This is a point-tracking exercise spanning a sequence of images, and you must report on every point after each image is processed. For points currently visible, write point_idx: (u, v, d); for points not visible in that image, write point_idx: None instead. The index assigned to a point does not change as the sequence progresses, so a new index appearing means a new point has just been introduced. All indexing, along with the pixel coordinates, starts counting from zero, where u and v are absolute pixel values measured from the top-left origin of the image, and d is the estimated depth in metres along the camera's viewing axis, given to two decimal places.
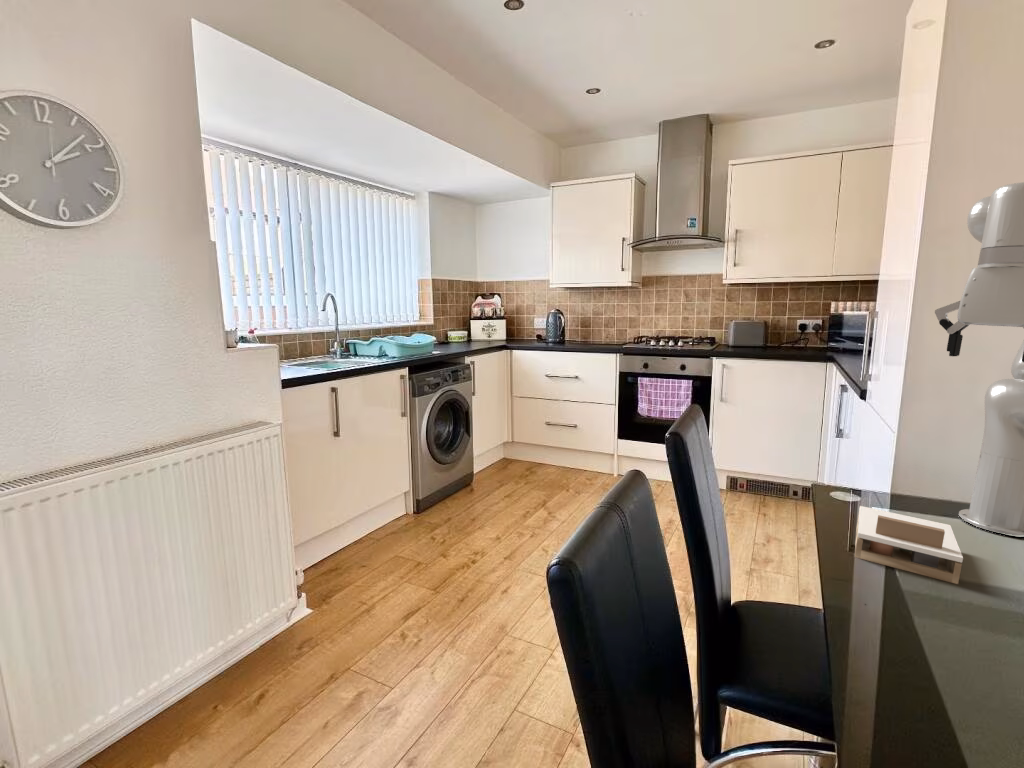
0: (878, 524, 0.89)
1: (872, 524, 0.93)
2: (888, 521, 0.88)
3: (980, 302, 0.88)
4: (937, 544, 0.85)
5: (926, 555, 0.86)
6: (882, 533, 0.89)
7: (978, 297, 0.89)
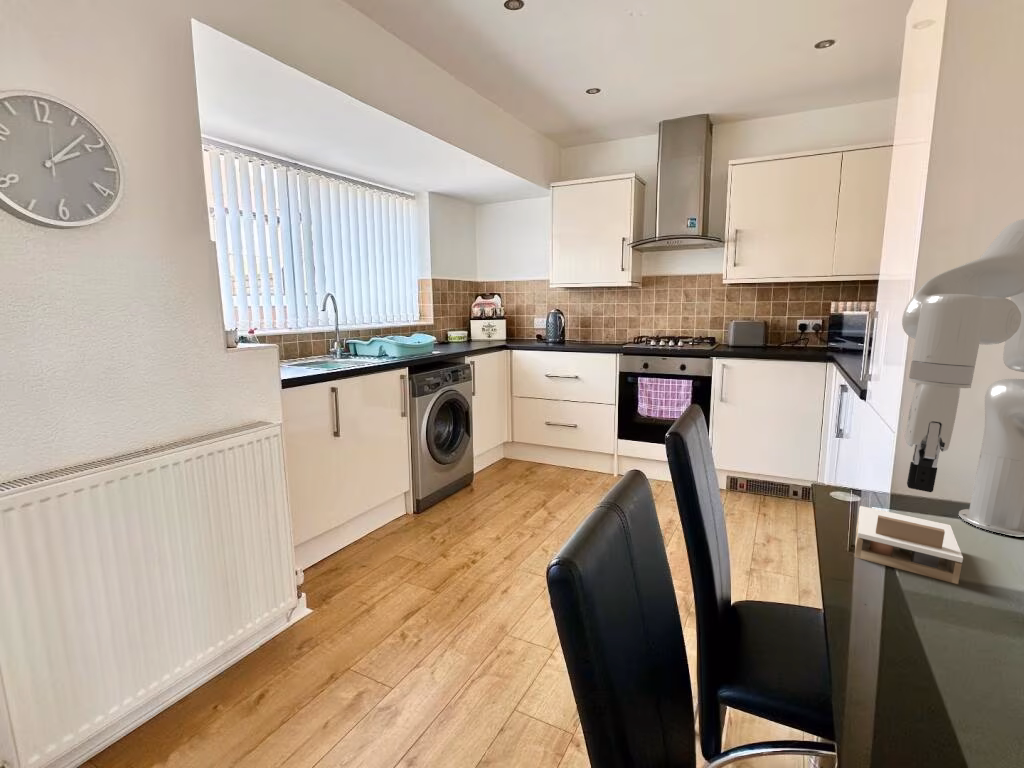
0: (878, 524, 0.89)
1: (872, 524, 0.93)
2: (888, 521, 0.88)
3: None
4: (937, 544, 0.85)
5: (926, 555, 0.86)
6: (882, 533, 0.89)
7: None
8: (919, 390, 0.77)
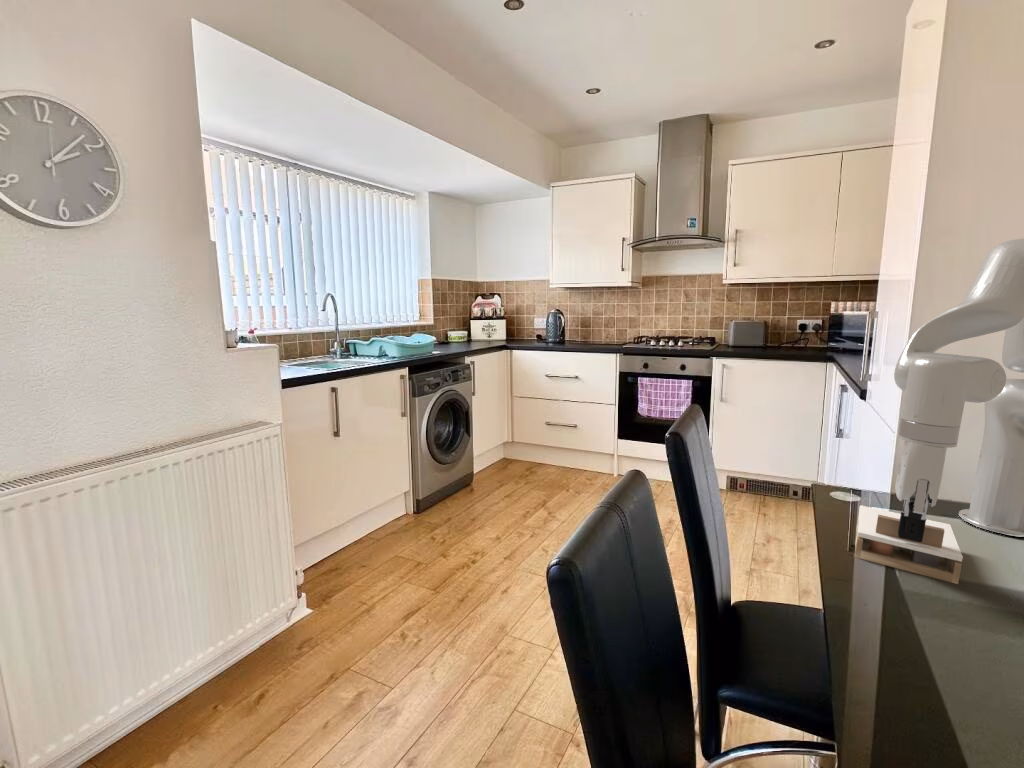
0: (877, 523, 0.90)
1: (872, 524, 0.93)
2: (888, 520, 0.89)
3: None
4: (937, 544, 0.85)
5: (926, 555, 0.86)
6: (882, 532, 0.89)
7: None
8: (908, 448, 0.82)
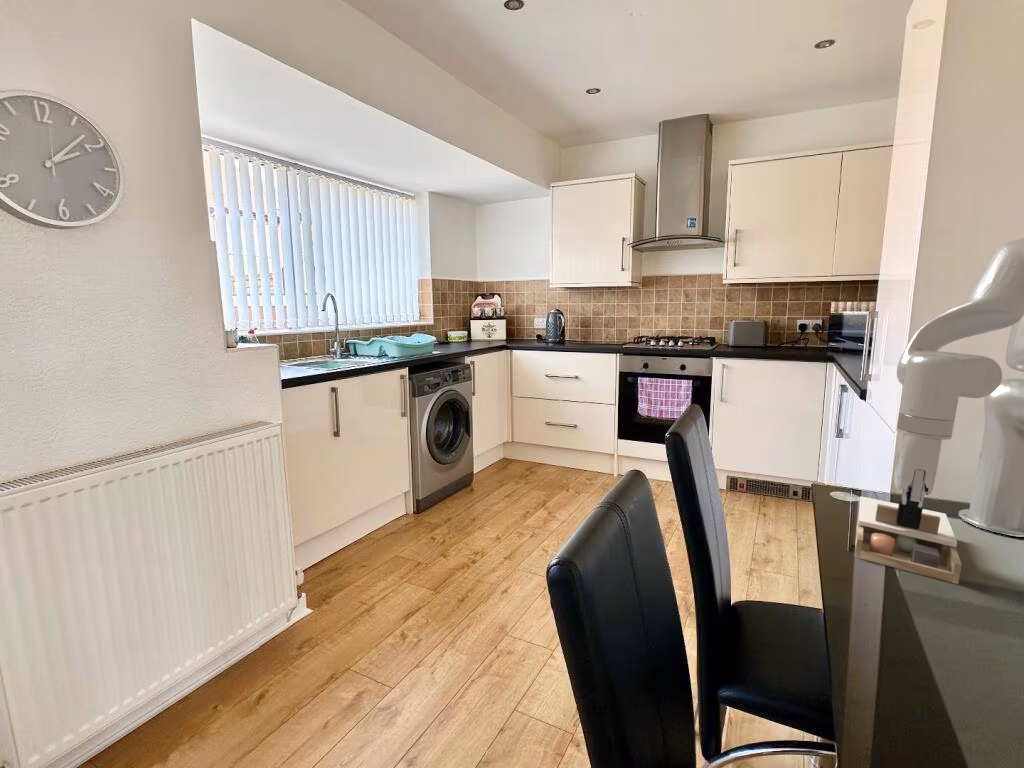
0: (877, 512, 0.95)
1: (872, 513, 0.99)
2: (887, 509, 0.94)
3: None
4: (933, 531, 0.90)
5: (926, 555, 0.86)
6: (881, 520, 0.94)
7: None
8: (905, 440, 0.87)
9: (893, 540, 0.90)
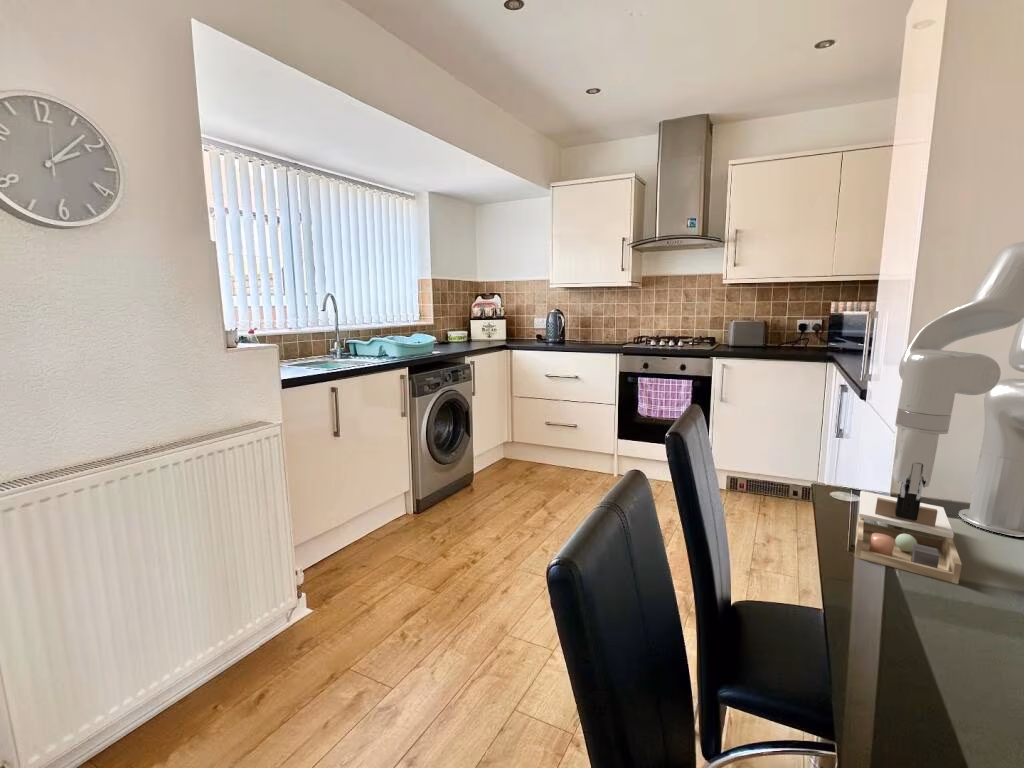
0: (877, 505, 0.98)
1: (872, 506, 1.02)
2: (886, 503, 0.97)
3: None
4: (930, 523, 0.94)
5: (926, 555, 0.86)
6: (881, 513, 0.98)
7: None
8: (904, 435, 0.90)
9: (893, 540, 0.90)
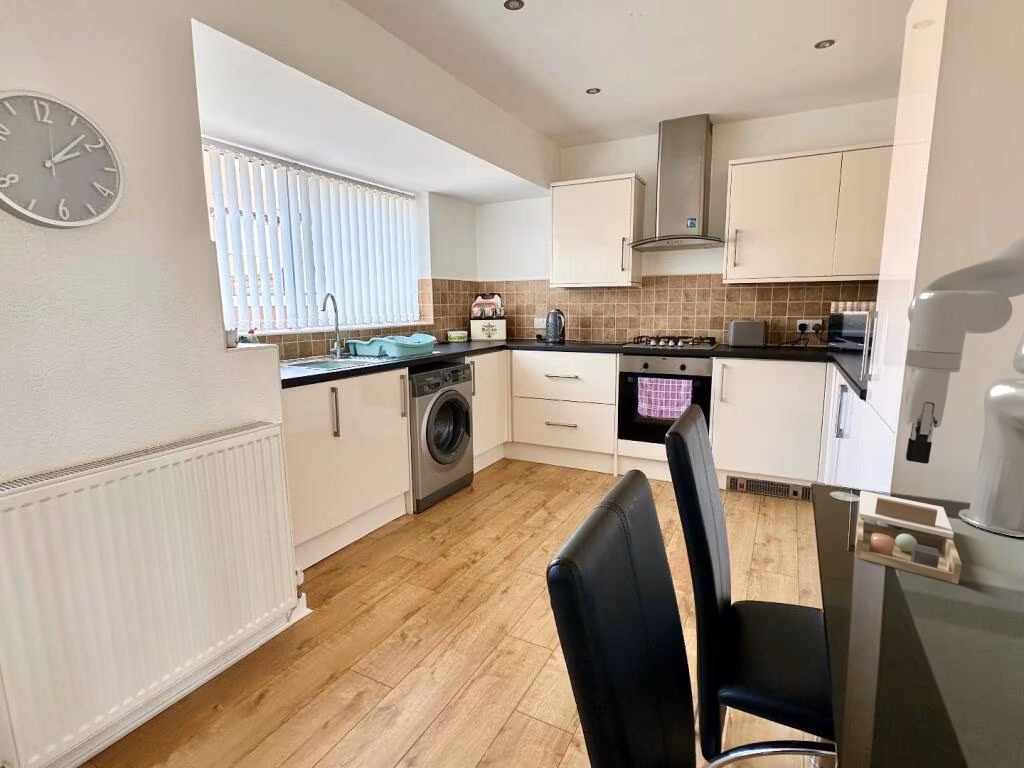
0: (877, 505, 0.98)
1: (872, 506, 1.02)
2: (886, 502, 0.97)
3: None
4: (930, 523, 0.94)
5: (926, 555, 0.86)
6: (881, 513, 0.98)
7: None
8: (914, 375, 0.89)
9: (893, 540, 0.90)
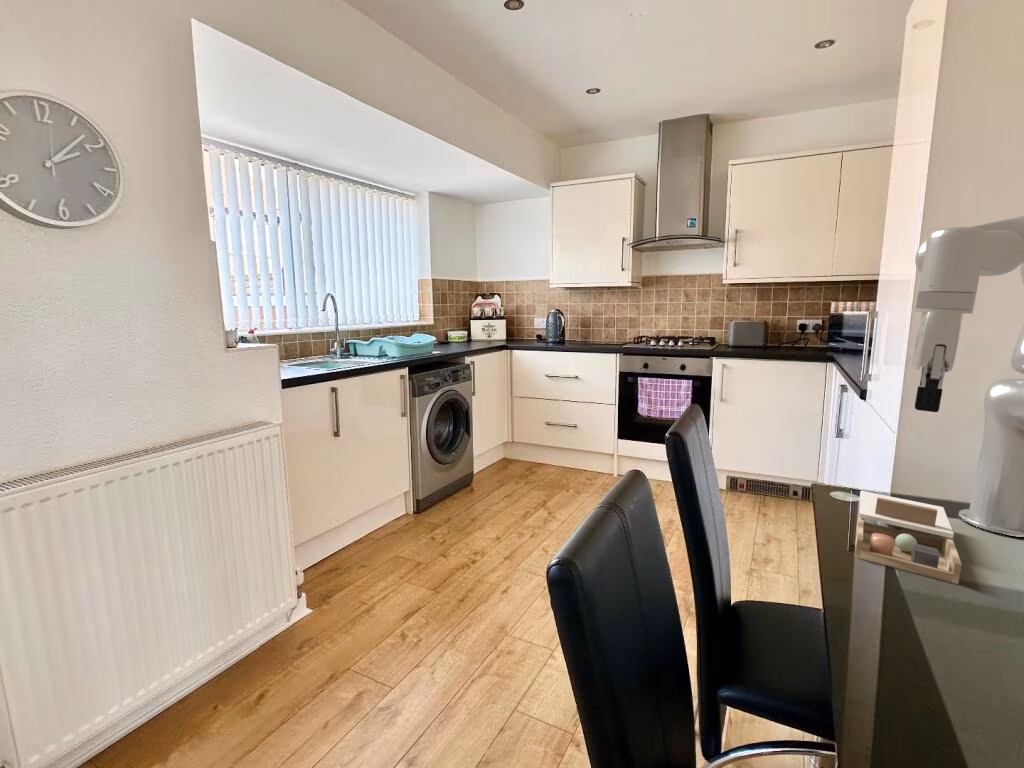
0: (877, 505, 0.98)
1: (872, 506, 1.02)
2: (886, 502, 0.97)
3: None
4: (930, 523, 0.94)
5: (926, 555, 0.86)
6: (881, 513, 0.98)
7: None
8: (925, 317, 0.84)
9: (893, 540, 0.90)
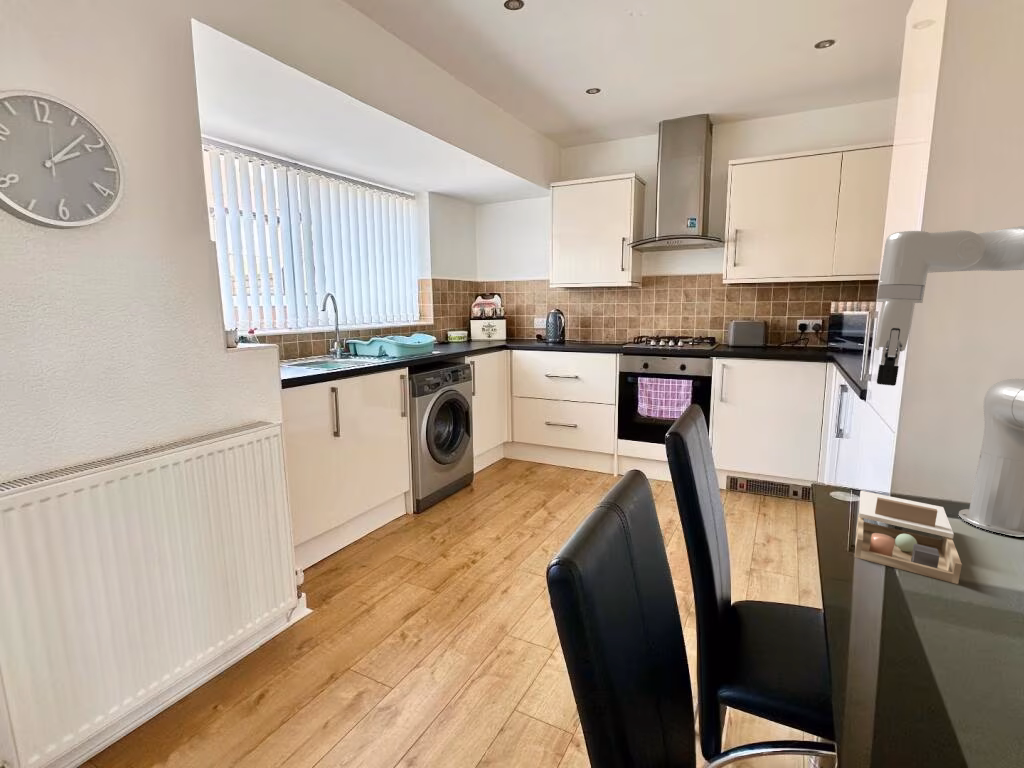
0: (877, 505, 0.98)
1: (872, 506, 1.02)
2: (886, 502, 0.97)
3: (909, 332, 1.01)
4: (930, 523, 0.94)
5: (926, 555, 0.86)
6: (881, 513, 0.98)
7: None
8: (883, 306, 1.02)
9: (893, 540, 0.90)
